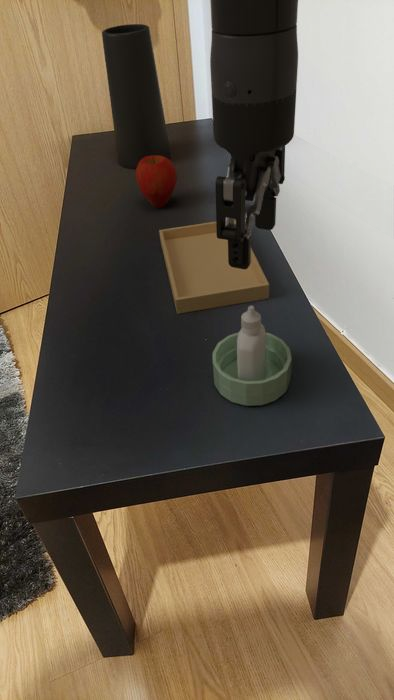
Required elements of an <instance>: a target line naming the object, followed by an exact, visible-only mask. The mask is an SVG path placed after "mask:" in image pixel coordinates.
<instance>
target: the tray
mask: <svg viewBox="0 0 394 700" xmlns="http://www.w3.org/2000/svg"><path fill="white" fill-rule="evenodd" d="M234 224H236V220H235V219H234ZM158 233H159V240H160V246H161V250H162V254H163V258H164V263H165V267H166V273H167V276H168V281H169V284H170V285H169V286H170V290H171V294H172V298H173V302H174V306H175V310H176V314H177V315H179V314H185V313H191V312H197V311H202V310H209V309H215V308H222V307H227V306H234V305H240V304H247V303H252V302H258V301H262V300H263V301H264V300H269V299H270V283H269V281H268V279H267V277H266V276H265V274H264V271H263V269H262V267H261V265H260V263H259V261H258V259H257V257H256V255H255V253H254V251H253V249H252V248H251V264H250V265H249V267H248V268H247V269H239V268H234V267H231V266H230V265H229V263H228V240H225V239H219V238H217V229H216V221H210V222H203V223H197V224H189V225H183V226H177V227H171V228H170V227H169V228H165V229H158Z"/></svg>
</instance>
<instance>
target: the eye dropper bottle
mask: <svg viewBox="0 0 394 700" xmlns="http://www.w3.org/2000/svg"><path fill="white" fill-rule="evenodd" d="M240 318H241V319H240V320H241V321H240V323H241V325H240V327H241V328H240V330H239V331H238V332H239V334H238V337H237V365H238V379H239V380H244V381H262V380H264V377H265V349H266V333H267V332H266V328H265V325H264V324H263V323H262V315H261V313H260V312H258V311H256V310H255V306H254V305H248V307H247V311H244V312H243V313H242V314H241V316H240Z"/></svg>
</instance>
